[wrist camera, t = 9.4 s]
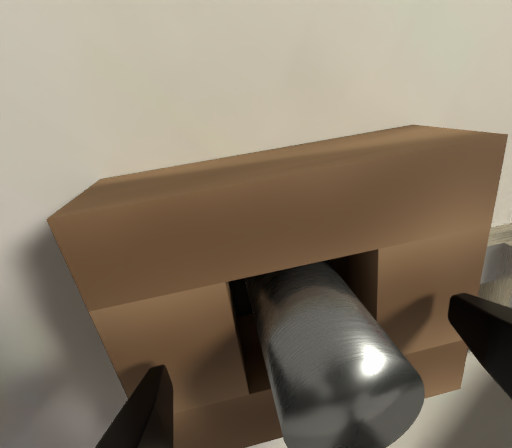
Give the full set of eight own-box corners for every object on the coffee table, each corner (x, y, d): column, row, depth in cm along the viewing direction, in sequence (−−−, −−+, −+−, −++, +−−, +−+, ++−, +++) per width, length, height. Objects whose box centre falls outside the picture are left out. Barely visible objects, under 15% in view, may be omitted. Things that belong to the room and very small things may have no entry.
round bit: (319, 287, 14) (419, 442, 8) (248, 303, 14) (290, 480, 7) (314, 221, 13) (430, 340, 6) (236, 237, 12) (273, 381, 6)
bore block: (400, 322, 16) (460, 388, 12) (171, 378, 14) (161, 470, 11) (412, 124, 12) (507, 134, 8) (100, 179, 11) (46, 219, 7)
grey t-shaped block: (519, 321, 18) (565, 351, 16) (427, 344, 17) (460, 380, 15) (548, 212, 15) (608, 230, 13) (440, 236, 14) (483, 259, 12)
